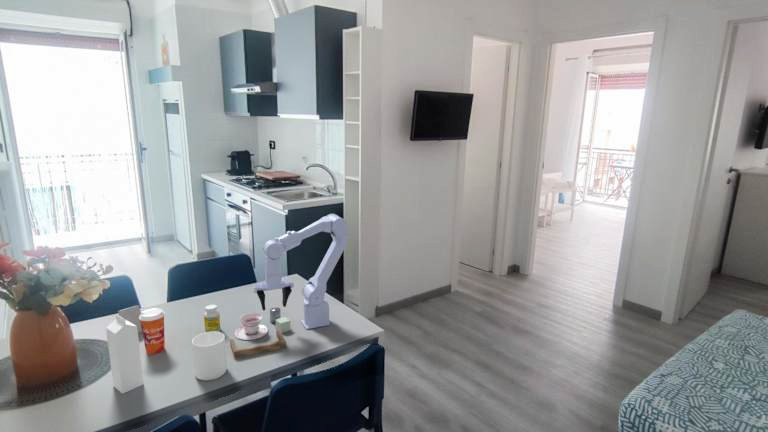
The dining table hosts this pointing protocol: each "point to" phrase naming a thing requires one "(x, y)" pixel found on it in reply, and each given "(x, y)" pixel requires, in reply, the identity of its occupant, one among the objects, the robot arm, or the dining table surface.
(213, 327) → the supplement bottle
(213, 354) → the mug
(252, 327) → the teacup
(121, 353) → the milk
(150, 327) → the paper cup
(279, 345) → the wooden cradle
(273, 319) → the grey canister
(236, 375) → the dining table surface
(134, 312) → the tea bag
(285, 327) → the sage block
